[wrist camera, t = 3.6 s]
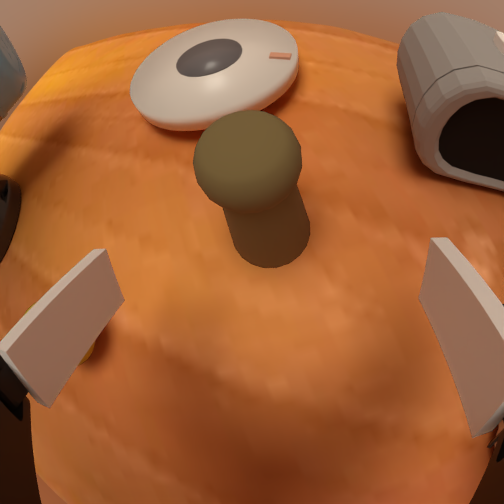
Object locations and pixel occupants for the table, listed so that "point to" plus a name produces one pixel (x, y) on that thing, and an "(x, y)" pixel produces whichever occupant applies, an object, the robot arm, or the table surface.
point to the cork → (255, 184)
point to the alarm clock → (455, 96)
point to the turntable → (214, 73)
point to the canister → (500, 428)
